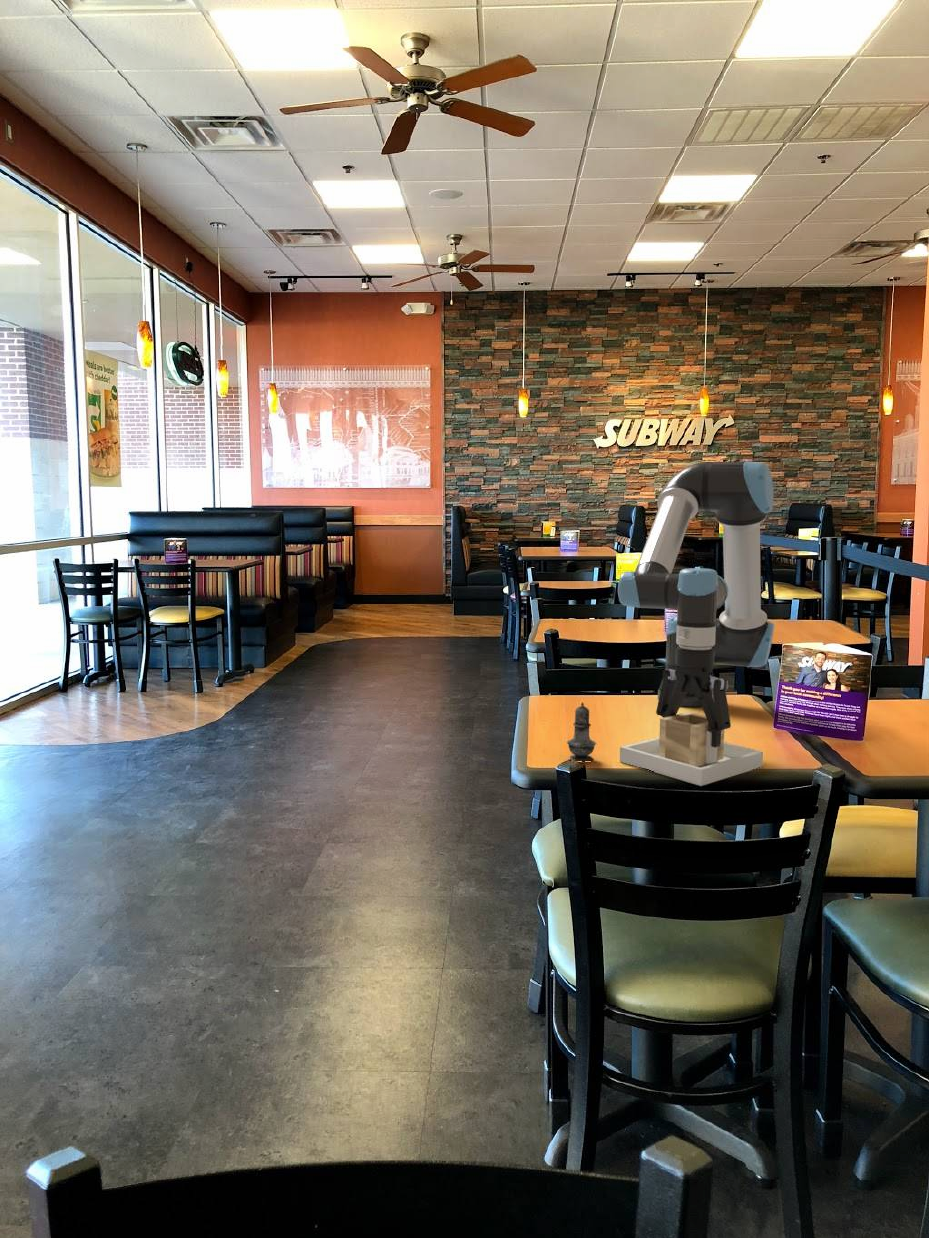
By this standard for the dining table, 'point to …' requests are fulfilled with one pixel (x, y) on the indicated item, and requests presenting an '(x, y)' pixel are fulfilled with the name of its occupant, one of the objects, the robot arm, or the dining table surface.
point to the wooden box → (686, 738)
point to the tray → (730, 765)
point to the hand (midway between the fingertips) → (690, 756)
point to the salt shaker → (581, 736)
